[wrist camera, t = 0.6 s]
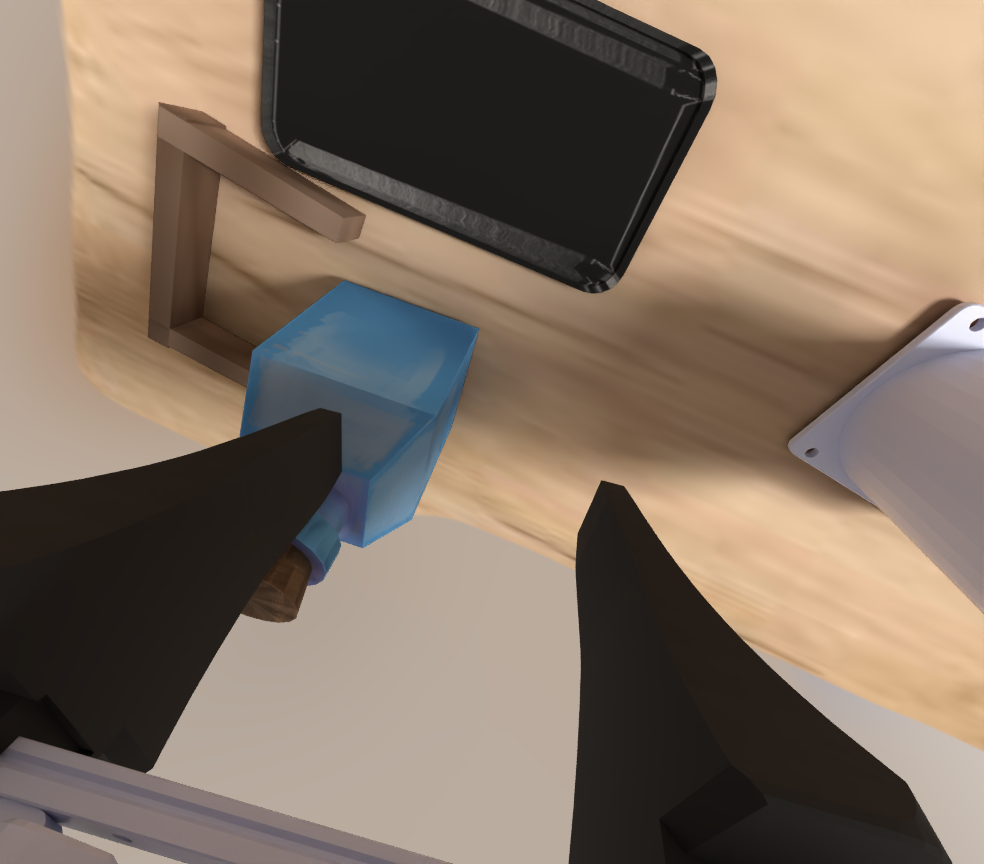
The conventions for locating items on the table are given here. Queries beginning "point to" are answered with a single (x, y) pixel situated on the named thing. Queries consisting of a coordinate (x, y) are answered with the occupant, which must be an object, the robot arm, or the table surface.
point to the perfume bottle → (357, 419)
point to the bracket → (190, 220)
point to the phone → (490, 119)
